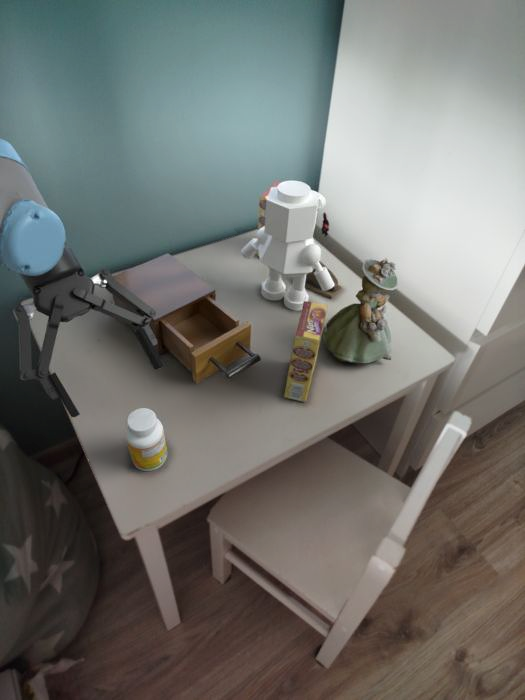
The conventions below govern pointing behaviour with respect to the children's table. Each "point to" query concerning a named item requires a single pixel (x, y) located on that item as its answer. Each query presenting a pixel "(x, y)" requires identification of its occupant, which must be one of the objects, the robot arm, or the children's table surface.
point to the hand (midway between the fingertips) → (119, 390)
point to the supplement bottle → (146, 440)
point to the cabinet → (163, 289)
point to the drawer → (207, 339)
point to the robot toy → (290, 243)
